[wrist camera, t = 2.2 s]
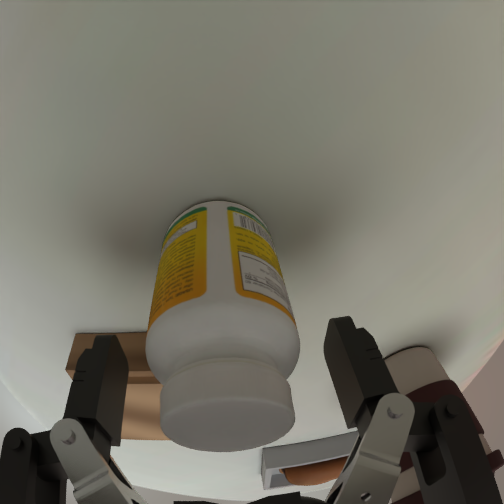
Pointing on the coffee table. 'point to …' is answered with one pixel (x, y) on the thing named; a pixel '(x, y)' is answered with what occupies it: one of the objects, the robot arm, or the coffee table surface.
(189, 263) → the supplement bottle
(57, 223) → the coffee table surface
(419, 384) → the coffee cup
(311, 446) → the tray
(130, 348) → the walnut base
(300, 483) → the brown elongated piece
